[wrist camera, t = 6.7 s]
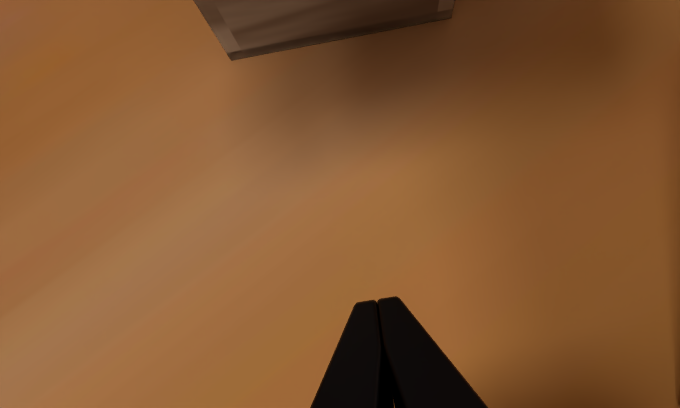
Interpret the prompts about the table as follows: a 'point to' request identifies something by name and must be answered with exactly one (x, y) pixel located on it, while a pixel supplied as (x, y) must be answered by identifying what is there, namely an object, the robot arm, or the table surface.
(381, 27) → the crate
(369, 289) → the table surface
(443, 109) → the table surface
